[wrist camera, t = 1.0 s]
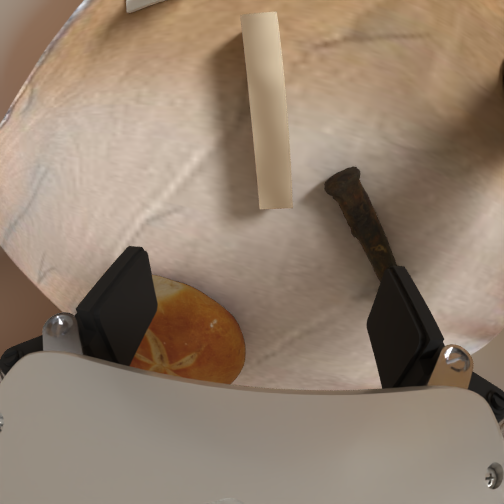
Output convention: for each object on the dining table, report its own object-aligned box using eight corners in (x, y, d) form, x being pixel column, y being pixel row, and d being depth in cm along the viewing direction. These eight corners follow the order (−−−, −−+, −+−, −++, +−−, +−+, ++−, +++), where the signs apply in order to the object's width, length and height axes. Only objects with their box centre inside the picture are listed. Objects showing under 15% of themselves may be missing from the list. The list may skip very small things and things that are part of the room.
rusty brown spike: (319, 178, 28) (325, 191, 24) (352, 161, 27) (363, 172, 23) (377, 300, 35) (385, 323, 31) (402, 288, 34) (413, 310, 30)
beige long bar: (277, 26, 20) (276, 11, 16) (291, 191, 29) (292, 208, 25) (247, 29, 21) (240, 14, 16) (263, 192, 30) (259, 209, 25)
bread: (169, 225, 33) (132, 272, 24) (279, 342, 41) (276, 398, 32) (88, 297, 41) (58, 337, 33) (181, 378, 49) (167, 420, 41)
